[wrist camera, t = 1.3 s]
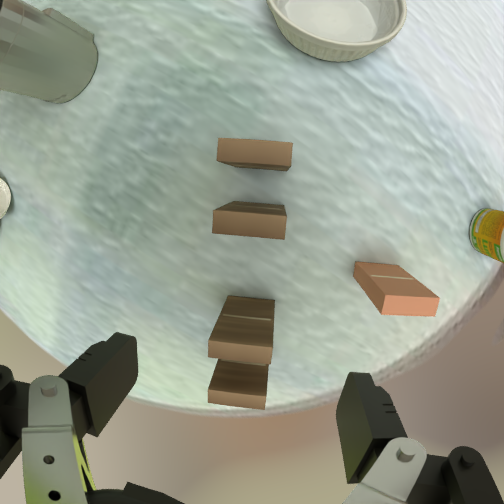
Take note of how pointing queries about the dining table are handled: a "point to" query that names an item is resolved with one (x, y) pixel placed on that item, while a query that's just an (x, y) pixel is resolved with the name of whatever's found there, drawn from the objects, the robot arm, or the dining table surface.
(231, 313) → the domino
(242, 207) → the domino
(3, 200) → the spread jar
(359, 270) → the domino
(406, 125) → the dining table surface
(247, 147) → the domino
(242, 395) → the domino
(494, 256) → the supplement bottle
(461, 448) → the robot arm
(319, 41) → the ramekin
